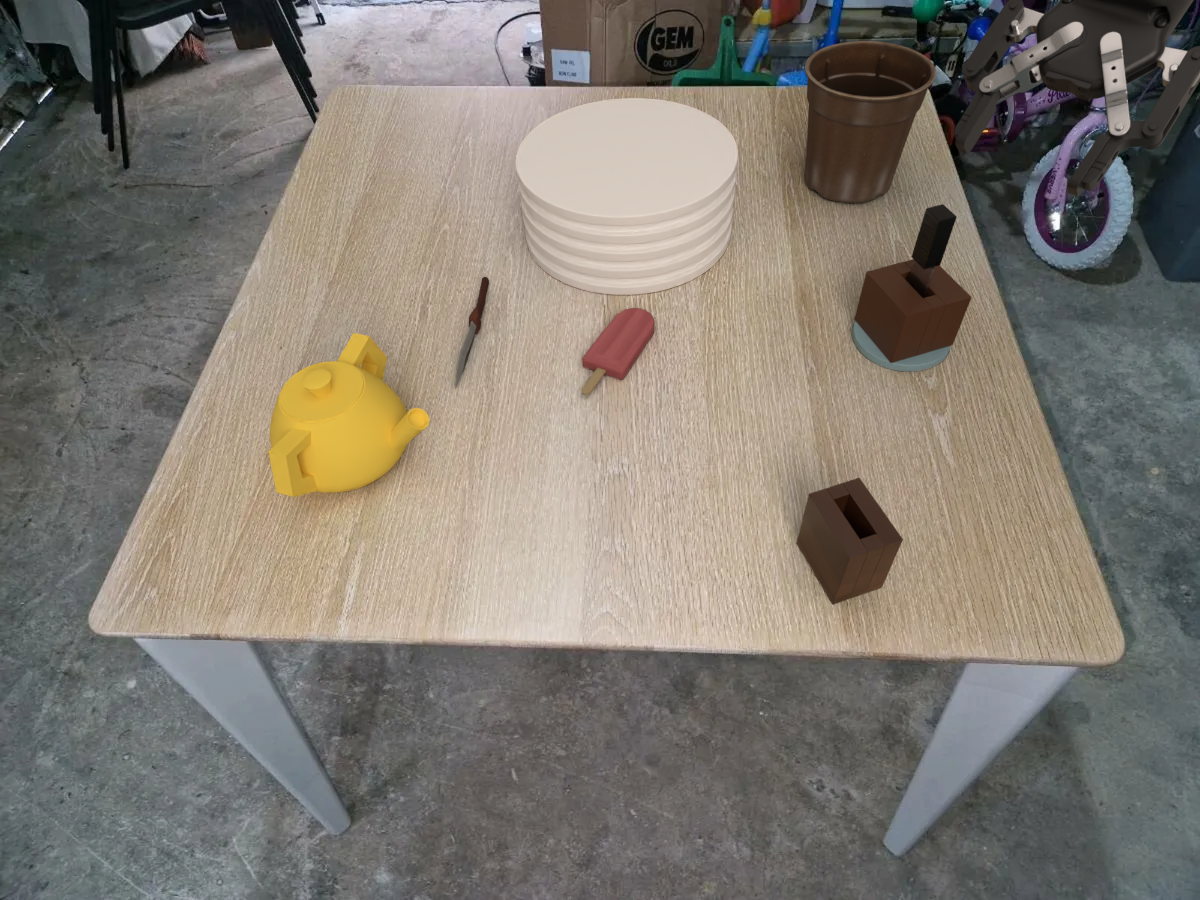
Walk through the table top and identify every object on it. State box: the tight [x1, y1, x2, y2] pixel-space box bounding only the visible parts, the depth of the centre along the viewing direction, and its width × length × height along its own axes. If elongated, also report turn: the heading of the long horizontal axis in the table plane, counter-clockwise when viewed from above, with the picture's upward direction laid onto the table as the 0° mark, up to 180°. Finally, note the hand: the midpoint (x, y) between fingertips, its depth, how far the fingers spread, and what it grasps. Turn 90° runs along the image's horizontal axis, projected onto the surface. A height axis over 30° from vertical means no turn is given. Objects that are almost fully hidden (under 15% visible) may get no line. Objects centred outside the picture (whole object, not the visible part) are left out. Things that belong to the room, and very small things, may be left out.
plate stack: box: [515, 97, 739, 296], centre depth 105 cm, size 28×28×12 cm
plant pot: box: [804, 40, 937, 204], centre depth 108 cm, size 16×16×16 cm
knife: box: [454, 276, 490, 389], centre depth 95 cm, size 18×2×3 cm, turn 173°
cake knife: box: [908, 203, 958, 298], centre depth 86 cm, size 2×3×16 cm, turn 19°
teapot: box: [267, 332, 430, 498], centre depth 81 cm, size 20×18×11 cm
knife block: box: [795, 477, 904, 605], centre depth 71 cm, size 5×7×8 cm
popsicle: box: [580, 307, 656, 396], centre depth 93 cm, size 5×2×15 cm
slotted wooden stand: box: [851, 258, 972, 373], centre depth 90 cm, size 11×11×8 cm
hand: (1014, 169), depth 58 cm, fingers open, 8 cm apart
